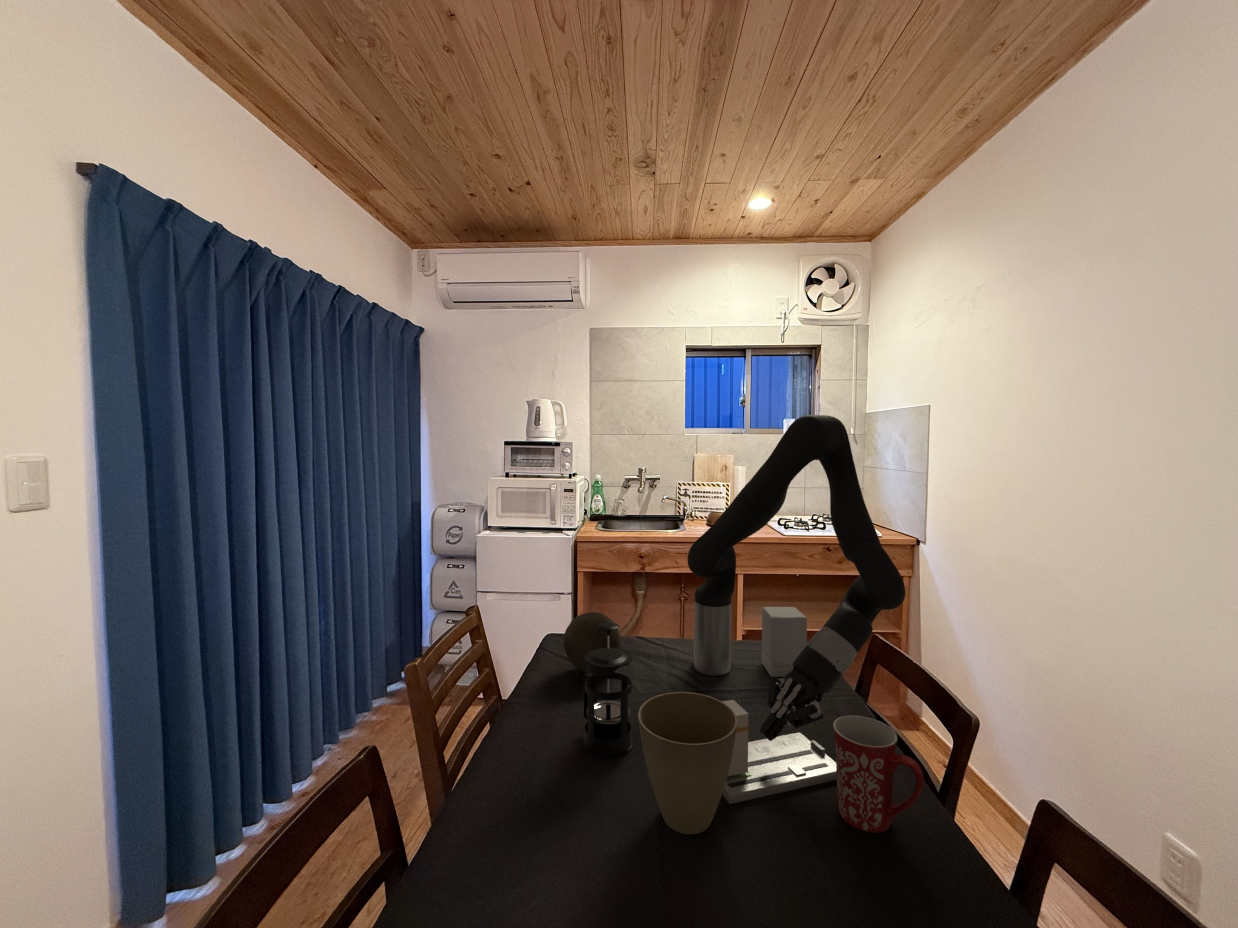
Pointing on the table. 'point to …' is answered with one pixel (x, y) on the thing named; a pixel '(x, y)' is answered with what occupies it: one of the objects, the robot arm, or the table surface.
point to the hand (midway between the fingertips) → (765, 736)
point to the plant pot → (687, 755)
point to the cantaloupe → (587, 638)
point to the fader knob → (739, 740)
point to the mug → (869, 772)
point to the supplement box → (782, 638)
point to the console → (780, 768)
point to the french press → (607, 700)
